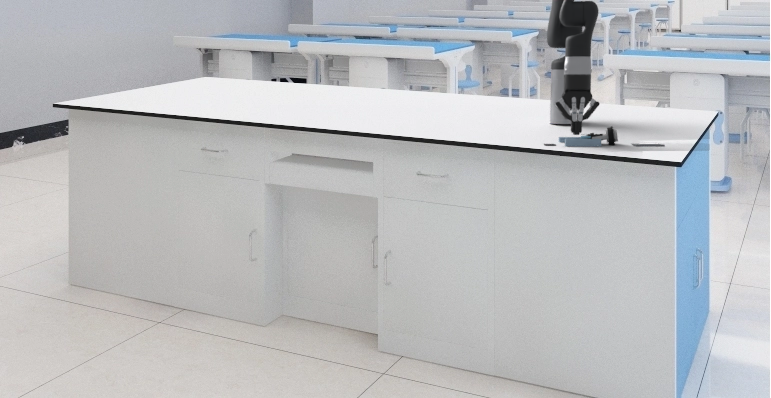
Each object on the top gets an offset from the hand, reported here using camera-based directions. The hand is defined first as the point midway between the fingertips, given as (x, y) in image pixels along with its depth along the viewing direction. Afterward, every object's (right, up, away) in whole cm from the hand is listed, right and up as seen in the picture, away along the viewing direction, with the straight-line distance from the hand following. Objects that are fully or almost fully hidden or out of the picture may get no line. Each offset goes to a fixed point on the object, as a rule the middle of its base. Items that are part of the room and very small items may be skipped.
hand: (576, 134), depth 265 cm
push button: (+1, -2, 0) cm, 2 cm away
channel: (+1, -3, 0) cm, 3 cm away
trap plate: (-8, -3, +1) cm, 8 cm away
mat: (+20, -3, -1) cm, 20 cm away
